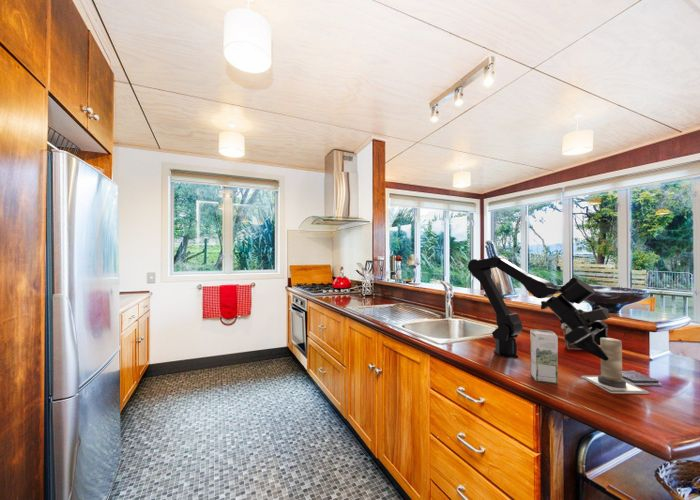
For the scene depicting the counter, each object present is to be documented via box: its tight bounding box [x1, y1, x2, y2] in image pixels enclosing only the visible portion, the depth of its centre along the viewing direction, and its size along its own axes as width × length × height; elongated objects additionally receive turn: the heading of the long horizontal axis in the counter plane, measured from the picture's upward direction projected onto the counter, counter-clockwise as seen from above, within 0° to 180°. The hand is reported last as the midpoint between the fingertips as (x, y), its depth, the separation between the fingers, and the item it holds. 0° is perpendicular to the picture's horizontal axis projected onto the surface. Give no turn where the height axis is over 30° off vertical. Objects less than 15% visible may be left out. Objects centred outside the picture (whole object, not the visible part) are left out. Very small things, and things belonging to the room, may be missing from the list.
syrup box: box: [529, 328, 559, 384], centre depth 86 cm, size 6×6×14 cm
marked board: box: [580, 375, 650, 395], centre depth 82 cm, size 10×10×1 cm
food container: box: [560, 323, 581, 350], centre depth 117 cm, size 12×6×10 cm, turn 84°
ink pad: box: [622, 370, 663, 386], centre depth 86 cm, size 8×8×1 cm
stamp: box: [597, 337, 626, 388], centre depth 83 cm, size 6×6×13 cm
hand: (612, 356), depth 82 cm, fingers open, 9 cm apart
